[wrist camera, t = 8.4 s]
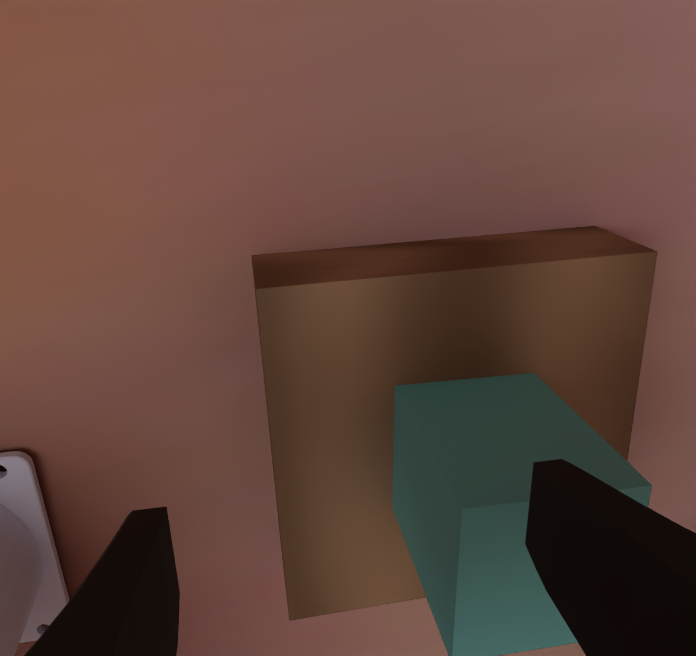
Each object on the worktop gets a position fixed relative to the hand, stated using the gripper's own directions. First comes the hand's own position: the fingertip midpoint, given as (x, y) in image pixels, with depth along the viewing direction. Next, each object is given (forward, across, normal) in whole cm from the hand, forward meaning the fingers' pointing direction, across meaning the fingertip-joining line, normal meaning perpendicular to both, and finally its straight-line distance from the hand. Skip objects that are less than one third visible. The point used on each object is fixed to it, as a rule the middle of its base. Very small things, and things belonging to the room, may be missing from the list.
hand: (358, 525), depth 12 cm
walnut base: (+11, -5, +3) cm, 12 cm away
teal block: (+7, -5, +3) cm, 9 cm away
